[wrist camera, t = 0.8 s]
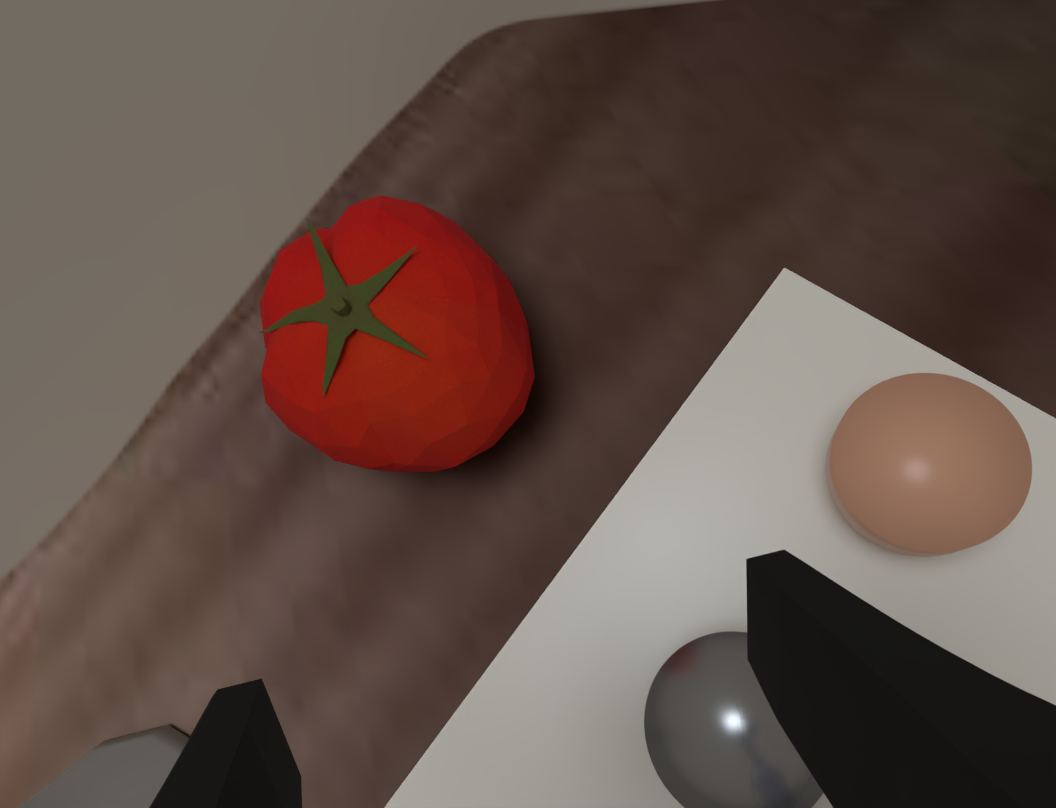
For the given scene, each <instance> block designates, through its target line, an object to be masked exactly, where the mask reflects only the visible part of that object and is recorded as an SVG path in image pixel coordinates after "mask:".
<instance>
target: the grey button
mask: <svg viewBox="0 0 1056 808" xmlns="http://www.w3.org/2000/svg"><path fill="white" fill-rule="evenodd" d="M644 731H645V739H646V744H647V749H648V752H649V755H650V758H651V761H652V764H653V766H654V768H655V770H656V772H657V775H658V776H659V778H660V779H661V781H662V783H663V784H664V786H665V787H666V788H667V790H668V791H669V792H670V793H671V795H672V796H673V797H674V798H675V799H676V800H677V801H678V802H679V803H680V804H681V805H682V806H683V807H684V808H812V807H813V806H814V804H815V803H816V802H817V801H818V800H819V798H820V797H821V796H822V794H823V791H822V790H821V788H820V786H819V785H818V783H817V782H816V780H815V779H814V777H813V776H812V774H811V773H810V771H809V770H808V768H807V766H806V765H805V763H804V762H803V760H802V759H801V757H800V755H799V754H798V752H797V751H796V749H795V748H794V746H793V744H792V743H791V741H790V740H789V738H788V737H787V735H786V733H785V732H784V730H783V729H782V727H781V725H780V724H779V722H778V721H777V719H776V717H775V715H774V713H773V711H772V709H771V707H770V705H769V703H768V701H767V699H766V697H765V695H764V693H763V691H762V689H761V686H760V684H759V682H758V680H757V678H756V676H755V674H754V672H753V670H752V668H751V665H750V663H749V661H748V659H747V632H739V631H722V632H716V633H711V634H708V635H705V636H702V637H699V638H697V639H695V640H693V641H691V642H689V643H687V644H685V645H684V646H682V647H681V648H679V649H678V650H677V651H676V652H675V653H673V654H672V655H671V656H670V657H669V658H668V659H667V661H666V662H665V663H664V664H663V665H662V667H661V668H660V670H659V671H658V673H657V674H656V676H655V678H654V680H653V682H652V685H651V687H650V690H649V693H648V696H647V700H646V706H645V712H644Z"/></svg>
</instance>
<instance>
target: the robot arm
mask: <svg viewBox="0 0 1056 808" xmlns="http://www.w3.org/2000/svg"><path fill="white" fill-rule="evenodd" d="M746 578H747V659H748V661H749V663H750V665H751V668H752V670H753V672H754V674H755V676H756V678H757V680H758V682H759V684H760V686H761V689H762V691H763V693H764V695H765V697H766V699H767V701H768V703H769V705H770V707H771V709H772V711H773V713H774V715H775V717H776V719H777V721H778V722H779V724H780V725H781V727H782V729H783V730H784V732H785V733H786V735H787V737H788V738H789V740H790V741H791V743H792V744H793V746H794V748H795V749H796V751H797V752H798V754H799V755H800V757H801V759H802V760H803V762H804V763H805V765H806V766H807V768H808V770H809V771H810V773H811V774H812V776H813V777H814V779H815V780H816V782H817V783H818V785H819V786H820V788H821V790H822V791H823V793H824V794H825V796H826V797H827V799H828V800H829V802H830V803H831V805H832V806H833V808H1056V705H1054V704H1052V703H1050V702H1048V701H1045V700H1043V699H1041V698H1039V697H1037V696H1035V695H1033V694H1030V693H1028V692H1026V691H1024V690H1022V689H1020V688H1018V687H1016V686H1014V685H1012V684H1010V683H1008V682H1006V681H1004V680H1002V679H1000V678H998V677H996V676H994V675H992V674H990V673H988V672H986V671H984V670H983V669H981V668H979V667H977V666H975V665H973V664H971V663H970V662H968V661H966V660H964V659H962V658H960V657H959V656H957V655H955V654H953V653H951V652H949V651H947V650H946V649H944V648H942V647H940V646H939V645H937V644H935V643H933V642H932V641H930V640H928V639H926V638H925V637H923V636H921V635H919V634H918V633H916V632H914V631H913V630H911V629H909V628H908V627H906V626H904V625H903V624H901V623H899V622H898V621H896V620H894V619H893V618H891V617H890V616H888V615H886V614H885V613H883V612H881V611H880V610H878V609H877V608H875V607H873V606H872V605H870V604H869V603H867V602H865V601H864V600H862V599H861V598H859V597H858V596H856V595H854V594H853V593H851V592H850V591H848V590H847V589H845V588H843V587H842V586H840V585H839V584H837V583H836V582H834V581H833V580H831V579H830V578H828V577H827V576H825V575H823V574H822V573H820V572H819V571H817V570H816V569H814V568H813V567H811V566H810V565H808V564H807V563H805V562H803V561H802V560H800V559H799V558H797V557H796V556H794V555H792V554H791V553H789V552H788V551H786V550H780V551H776V552H772V553H768V554H764V555H760V556H756V557H752V558H748V559H746ZM149 808H302V793H301V775H300V772H299V770H298V768H297V765H296V763H295V760H294V758H293V755H292V753H291V750H290V748H289V745H288V743H287V740H286V738H285V735H284V733H283V730H282V728H281V725H280V723H279V720H278V718H277V716H276V713H275V711H274V708H273V706H272V703H271V701H270V698H269V696H268V693H267V691H266V688H265V686H264V683H263V681H262V679H258V680H254V681H250V682H246V683H242V684H238V685H234V686H230V687H226V688H222V689H218V690H217V691H216V693H215V694H214V695H213V697H212V698H211V700H210V702H209V704H208V705H207V707H206V709H205V711H204V712H203V714H202V716H201V718H200V720H199V721H198V723H197V725H196V727H195V729H194V731H193V732H192V734H191V736H190V738H189V740H188V741H187V743H186V745H185V747H184V748H183V750H182V752H181V754H180V756H179V757H178V759H177V761H176V763H175V764H174V766H173V768H172V770H171V771H170V773H169V775H168V777H167V778H166V780H165V782H164V784H163V785H162V787H161V789H160V790H159V792H158V794H157V795H156V797H155V799H154V800H153V802H152V804H151V805H150V807H149Z"/></svg>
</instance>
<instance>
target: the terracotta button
mask: <svg viewBox="0 0 1056 808" xmlns="http://www.w3.org/2000/svg"><path fill="white" fill-rule="evenodd" d="M826 476H827V483H828V487H829V490H830V493H831V496H832V498H833V500H834V502H835V505H836V506H837V508H838V509H839V511H840V513H841V514H842V516H843V517H844V518H845V519H846V520H847V522H848V523H849V524H850V525H851V526H852V527H853V528H854V529H855V530H856V531H857V532H858V533H860V534H861V535H862V536H864V537H865V538H866V539H868V540H870V541H871V542H873V543H875V544H876V545H878V546H881V547H883V548H885V549H888V550H890V551H893V552H897V553H900V554H905V555H910V556H922V557H930V556H940V555H946V554H951V553H954V552H957V551H960V550H963V549H966V548H969V547H972V546H975V545H978V544H981V543H983V542H985V541H987V540H989V539H991V538H992V537H994V536H995V535H997V534H998V533H1000V532H1001V531H1002V530H1004V529H1005V528H1006V527H1007V526H1008V525H1009V524H1010V523H1011V522H1012V521H1013V520H1014V518H1015V517H1016V516H1017V515H1018V513H1019V512H1020V510H1021V508H1022V506H1023V505H1024V503H1025V500H1026V498H1027V495H1028V493H1029V489H1030V485H1031V480H1032V459H1031V453H1030V449H1029V444H1028V442H1027V439H1026V437H1025V434H1024V432H1023V430H1022V428H1021V427H1020V425H1019V423H1018V421H1017V420H1016V419H1015V417H1014V416H1013V415H1012V413H1011V412H1010V411H1009V410H1008V409H1007V408H1006V407H1005V406H1004V405H1003V403H1002V402H1000V401H999V400H998V399H997V398H995V397H994V396H993V395H992V394H990V393H989V392H987V391H986V390H984V389H982V388H981V387H979V386H977V385H975V384H973V383H971V382H969V381H966V380H963V379H960V378H957V377H953V376H949V375H945V374H937V373H913V374H905V375H901V376H897V377H893V378H890V379H888V380H885V381H882V382H880V383H879V384H877V385H875V386H873V387H871V388H870V389H868V390H867V391H865V392H864V393H863V394H862V395H860V396H859V397H858V398H857V399H856V400H855V401H854V402H853V403H852V405H851V406H850V407H849V408H848V409H847V411H846V412H845V414H844V416H843V417H842V419H841V421H840V423H839V424H838V426H837V428H836V430H835V432H834V434H833V436H832V439H831V441H830V444H829V447H828V451H827V457H826Z"/></svg>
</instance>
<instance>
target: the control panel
mask: <svg viewBox="0 0 1056 808" xmlns="http://www.w3.org/2000/svg"><path fill="white" fill-rule="evenodd" d="M913 373H937V374H945V375H949V376H953V377H957V378H960V379H963V380H966V381H969V382H971V383H973V384H975V385H977V386H979V387H981V388H982V389H984V390H986V391H987V392H989V393H990V394H992V395H993V396H994V397H995V398H997V399H998V400H999V401H1000V402H1002V403H1003V405H1004V406H1005V407H1006V408H1007V409H1008V410H1009V411H1010V412H1011V413H1012V415H1013V416H1014V417H1015V419H1016V420H1017V421H1018V423H1019V425H1020V427H1021V428H1022V430H1023V432H1024V434H1025V437H1026V439H1027V442H1028V444H1029V449H1030V453H1031V459H1032V480H1031V485H1030V489H1029V493H1028V495H1027V498H1026V500H1025V503H1024V505H1023V506H1022V508H1021V510H1020V512H1019V513H1018V515H1017V516H1016V517H1015V518H1014V520H1013V521H1012V522H1011V523H1010V524H1009V525H1008V526H1007V527H1006V528H1005V529H1004V530H1002V531H1001V532H1000V533H998V534H997V535H995V536H994V537H992V538H991V539H989V540H987V541H985V542H983V543H981V544H978V545H975V546H972V547H969V548H966V549H963V550H960V551H957V552H954V553H951V554H946V555H940V556H930V557H922V556H910V555H905V554H900V553H897V552H893V551H890V550H888V549H885V548H883V547H881V546H878V545H876V544H875V543H873V542H871V541H870V540H868V539H866V538H865V537H864V536H862V535H861V534H860V533H858V532H857V531H856V530H855V529H854V528H853V527H852V526H851V525H850V524H849V523H848V522H847V520H846V519H845V518H844V517H843V516H842V514H841V513H840V511H839V509H838V508H837V506H836V505H835V502H834V500H833V498H832V496H831V493H830V490H829V487H828V483H827V476H826V457H827V451H828V447H829V444H830V441H831V439H832V436H833V434H834V432H835V430H836V428H837V426H838V424H839V423H840V421H841V419H842V417H843V416H844V414H845V412H846V411H847V409H848V408H849V407H850V406H851V405H852V403H853V402H854V401H855V400H856V399H857V398H858V397H859V396H860V395H862V394H863V393H864V392H865V391H867V390H868V389H870V388H871V387H873V386H875V385H877V384H879V383H880V382H882V381H885V380H888V379H890V378H893V377H897V376H901V375H905V374H913ZM780 550H786V551H788V552H789V553H791V554H792V555H794V556H796V557H797V558H799V559H800V560H802V561H803V562H805V563H807V564H808V565H810V566H811V567H813V568H814V569H816V570H817V571H819V572H820V573H822V574H823V575H825V576H827V577H828V578H830V579H831V580H833V581H834V582H836V583H837V584H839V585H840V586H842V587H843V588H845V589H847V590H848V591H850V592H851V593H853V594H854V595H856V596H858V597H859V598H861V599H862V600H864V601H865V602H867V603H869V604H870V605H872V606H873V607H875V608H877V609H878V610H880V611H881V612H883V613H885V614H886V615H888V616H890V617H891V618H893V619H894V620H896V621H898V622H899V623H901V624H903V625H904V626H906V627H908V628H909V629H911V630H913V631H914V632H916V633H918V634H919V635H921V636H923V637H925V638H926V639H928V640H930V641H932V642H933V643H935V644H937V645H939V646H940V647H942V648H944V649H946V650H947V651H949V652H951V653H953V654H955V655H957V656H959V657H960V658H962V659H964V660H966V661H968V662H970V663H971V664H973V665H975V666H977V667H979V668H981V669H983V670H984V671H986V672H988V673H990V674H992V675H994V676H996V677H998V678H1000V679H1002V680H1004V681H1006V682H1008V683H1010V684H1012V685H1014V686H1016V687H1018V688H1020V689H1022V690H1024V691H1026V692H1028V693H1030V694H1033V695H1035V696H1037V697H1039V698H1041V699H1043V700H1045V701H1048V702H1050V703H1052V704H1054V705H1056V419H1055V418H1054V417H1052V416H1050V415H1048V414H1046V413H1045V412H1043V411H1041V410H1039V409H1037V408H1036V407H1034V406H1032V405H1030V404H1028V403H1027V402H1025V401H1023V400H1021V399H1019V398H1018V397H1016V396H1014V395H1012V394H1010V393H1009V392H1007V391H1005V390H1003V389H1001V388H1000V387H998V386H996V385H994V384H993V383H991V382H989V381H987V380H985V379H984V378H982V377H980V376H978V375H976V374H975V373H973V372H971V371H969V370H967V369H966V368H964V367H962V366H960V365H958V364H957V363H955V362H953V361H951V360H949V359H948V358H946V357H944V356H942V355H940V354H939V353H937V352H935V351H933V350H931V349H930V348H928V347H926V346H924V345H922V344H921V343H919V342H917V341H915V340H913V339H912V338H910V337H908V336H906V335H904V334H903V333H901V332H899V331H897V330H895V329H894V328H892V327H890V326H888V325H886V324H885V323H883V322H881V321H879V320H877V319H876V318H874V317H872V316H870V315H869V314H867V313H865V312H863V311H861V310H860V309H858V308H856V307H854V306H852V305H851V304H849V303H847V302H845V301H843V300H842V299H840V298H838V297H836V296H834V295H833V294H831V293H829V292H827V291H825V290H824V289H822V288H820V287H818V286H816V285H815V284H813V283H811V282H809V281H807V280H806V279H804V278H802V277H800V276H798V275H797V274H795V273H793V272H791V271H789V270H788V269H786V268H784V269H783V270H782V272H781V273H780V274H779V276H778V277H777V278H776V280H775V281H774V282H773V284H772V285H771V286H770V288H769V289H768V290H767V292H766V293H765V294H764V296H763V297H762V299H761V300H760V301H759V303H758V304H757V305H756V307H755V308H754V309H753V311H752V312H751V313H750V315H749V316H748V317H747V319H746V320H745V321H744V323H743V324H742V326H741V327H740V328H739V330H738V331H737V332H736V334H735V335H734V336H733V338H732V339H731V340H730V342H729V343H728V344H727V346H726V347H725V348H724V350H723V351H722V353H721V354H720V355H719V357H718V358H717V359H716V361H715V362H714V363H713V365H712V366H711V367H710V369H709V370H708V371H707V373H706V374H705V375H704V377H703V378H702V380H701V381H700V382H699V384H698V385H697V386H696V388H695V389H694V390H693V392H692V393H691V394H690V396H689V397H688V398H687V400H686V401H685V402H684V404H683V405H682V407H681V408H680V409H679V411H678V412H677V413H676V415H675V416H674V417H673V419H672V420H671V421H670V423H669V424H668V425H667V427H666V428H665V429H664V431H663V432H662V433H661V435H660V436H659V438H658V439H657V440H656V442H655V443H654V444H653V446H652V447H651V448H650V450H649V451H648V452H647V454H646V455H645V456H644V458H643V459H642V460H641V462H640V463H639V465H638V466H637V467H636V469H635V470H634V471H633V473H632V474H631V475H630V477H629V478H628V479H627V481H626V482H625V483H624V485H623V486H622V487H621V489H620V490H619V492H618V493H617V494H616V496H615V497H614V498H613V500H612V501H611V502H610V504H609V505H608V506H607V508H606V509H605V510H604V512H603V513H602V514H601V516H600V517H599V519H598V520H597V521H596V523H595V524H594V525H593V527H592V528H591V529H590V531H589V532H588V533H587V535H586V536H585V537H584V539H583V540H582V541H581V543H580V544H579V546H578V547H577V548H576V550H575V551H574V552H573V554H572V555H571V556H570V558H569V559H568V560H567V562H566V563H565V564H564V566H563V567H562V568H561V570H560V571H559V573H558V574H557V575H556V577H555V578H554V579H553V581H552V582H551V583H550V585H549V586H548V587H547V589H546V590H545V591H544V593H543V594H542V595H541V597H540V598H539V600H538V601H537V602H536V604H535V605H534V606H533V608H532V609H531V610H530V612H529V613H528V614H527V616H526V617H525V618H524V620H523V621H522V622H521V624H520V625H519V627H518V628H517V629H516V631H515V632H514V633H513V635H512V636H511V637H510V639H509V640H508V641H507V643H506V644H505V645H504V647H503V648H502V649H501V651H500V652H499V654H498V655H497V656H496V658H495V659H494V660H493V662H492V663H491V664H490V666H489V667H488V668H487V670H486V671H485V672H484V674H483V675H482V676H481V678H480V679H479V681H478V682H477V683H476V685H475V686H474V687H473V689H472V690H471V691H470V693H469V694H468V695H467V697H466V698H465V699H464V701H463V702H462V703H461V705H460V706H459V708H458V709H457V710H456V712H455V713H454V714H453V716H452V717H451V718H450V720H449V721H448V722H447V724H446V725H445V726H444V728H443V729H442V730H441V732H440V733H439V735H438V736H437V737H436V739H435V740H434V741H433V743H432V744H431V745H430V747H429V748H428V749H427V751H426V752H425V753H424V755H423V756H422V757H421V759H420V760H419V762H418V763H417V764H416V766H415V767H414V768H413V770H412V771H411V772H410V774H409V775H408V776H407V778H406V779H405V780H404V782H403V783H402V784H401V786H400V787H399V789H398V790H397V791H396V793H395V794H394V795H393V797H392V798H391V799H390V801H389V802H388V803H387V805H386V806H385V807H384V808H684V807H683V806H682V805H681V804H680V803H679V802H678V801H677V800H676V799H675V798H674V797H673V796H672V795H671V793H670V792H669V791H668V790H667V788H666V787H665V786H664V784H663V783H662V781H661V779H660V778H659V776H658V775H657V772H656V770H655V768H654V766H653V764H652V761H651V758H650V755H649V752H648V749H647V744H646V739H645V731H644V712H645V706H646V700H647V696H648V693H649V690H650V687H651V685H652V682H653V680H654V678H655V676H656V674H657V673H658V671H659V670H660V668H661V667H662V665H663V664H664V663H665V662H666V661H667V659H668V658H669V657H670V656H671V655H672V654H673V653H675V652H676V651H677V650H678V649H679V648H681V647H682V646H684V645H685V644H687V643H689V642H691V641H693V640H695V639H697V638H699V637H702V636H705V635H708V634H711V633H716V632H722V631H739V632H747V578H746V559H748V558H752V557H756V556H760V555H764V554H768V553H772V552H776V551H780ZM812 808H833V806H832V805H831V803H830V802H829V800H828V799H827V797H826V796H825V794H824V793H823V794H822V796H821V797H820V798H819V800H818V801H817V802H816V803H815V804H814V806H813V807H812Z"/></svg>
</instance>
